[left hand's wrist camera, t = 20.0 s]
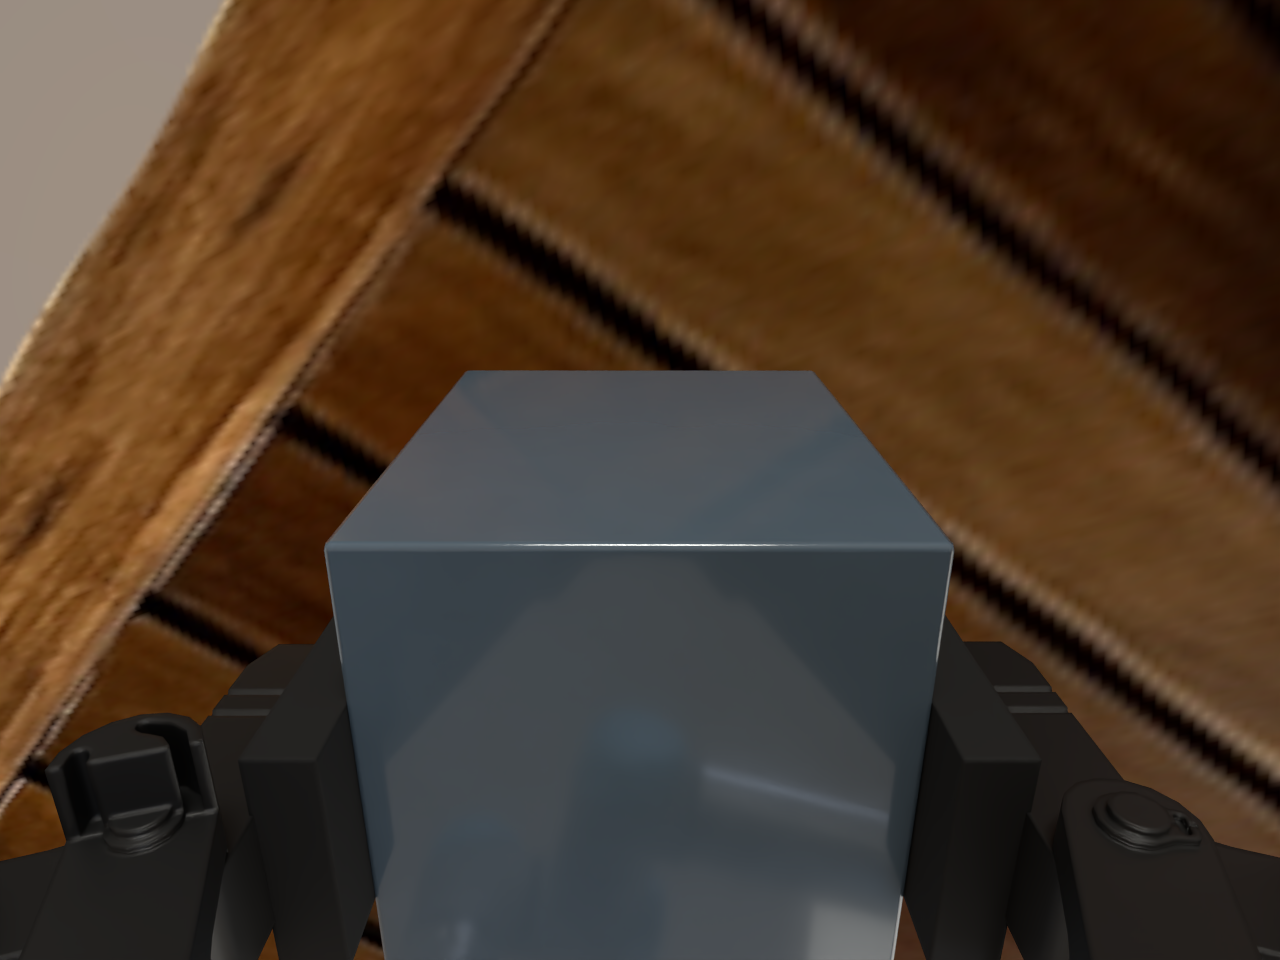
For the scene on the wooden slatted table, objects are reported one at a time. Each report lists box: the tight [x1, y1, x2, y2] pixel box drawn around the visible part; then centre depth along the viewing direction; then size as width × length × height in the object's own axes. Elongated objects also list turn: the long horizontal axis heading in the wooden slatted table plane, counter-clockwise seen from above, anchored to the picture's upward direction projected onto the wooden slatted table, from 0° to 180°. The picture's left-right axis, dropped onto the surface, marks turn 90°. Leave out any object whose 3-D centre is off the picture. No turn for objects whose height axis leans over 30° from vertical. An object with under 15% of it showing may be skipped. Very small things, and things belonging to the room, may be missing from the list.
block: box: [324, 371, 954, 960], centre depth 13 cm, size 6×6×7 cm
